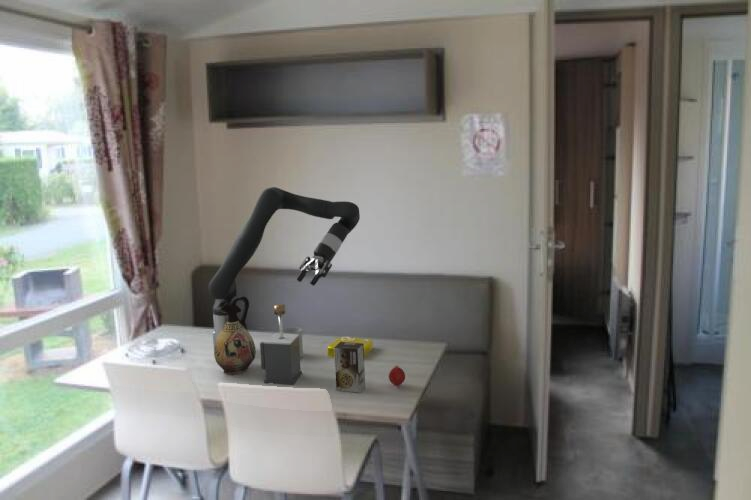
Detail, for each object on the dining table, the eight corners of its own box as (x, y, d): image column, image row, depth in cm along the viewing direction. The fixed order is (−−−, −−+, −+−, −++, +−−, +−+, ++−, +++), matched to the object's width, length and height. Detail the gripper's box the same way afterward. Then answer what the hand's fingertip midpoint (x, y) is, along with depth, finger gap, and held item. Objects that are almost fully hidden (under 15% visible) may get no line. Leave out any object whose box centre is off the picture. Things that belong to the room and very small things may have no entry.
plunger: (268, 357, 239) (265, 307, 235) (276, 350, 246) (273, 302, 242) (288, 358, 237) (286, 308, 234) (295, 351, 244) (292, 302, 241)
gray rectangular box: (257, 382, 240) (255, 342, 237) (268, 371, 250) (265, 332, 247) (293, 384, 237) (290, 343, 234) (302, 373, 247) (300, 333, 245)
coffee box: (365, 386, 234) (364, 343, 231) (359, 393, 228) (358, 349, 225) (342, 383, 237) (340, 341, 234) (335, 390, 231) (333, 346, 228)
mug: (307, 354, 268) (306, 328, 266) (295, 361, 261) (294, 334, 259) (283, 350, 274) (282, 325, 272) (271, 356, 267) (269, 330, 265)
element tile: (326, 357, 265) (325, 346, 264) (341, 345, 279) (340, 334, 278) (360, 361, 260) (360, 349, 259) (374, 349, 274) (373, 338, 273)
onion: (388, 383, 235) (387, 362, 234) (404, 382, 236) (403, 361, 234) (389, 390, 230) (389, 368, 228) (406, 389, 230) (405, 367, 229)
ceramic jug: (221, 381, 241) (215, 303, 236) (211, 368, 255) (205, 294, 249) (266, 372, 249) (261, 296, 244) (253, 360, 263) (249, 288, 257)
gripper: (310, 240, 253) (287, 274, 247) (333, 244, 242) (310, 279, 237) (322, 251, 257) (300, 285, 252) (345, 256, 247) (322, 291, 241)
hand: (304, 282), depth 244 cm, fingers open, 8 cm apart
